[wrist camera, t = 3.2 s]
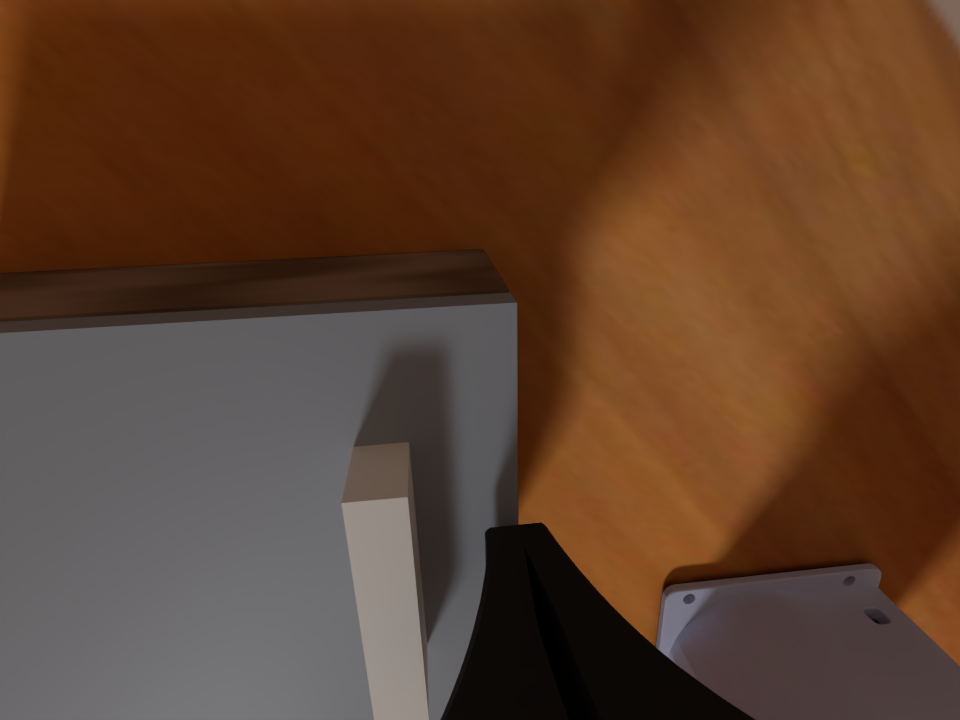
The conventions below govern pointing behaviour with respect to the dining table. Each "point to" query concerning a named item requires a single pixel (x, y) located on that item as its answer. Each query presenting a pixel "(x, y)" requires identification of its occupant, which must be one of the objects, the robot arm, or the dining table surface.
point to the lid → (251, 507)
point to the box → (245, 284)
